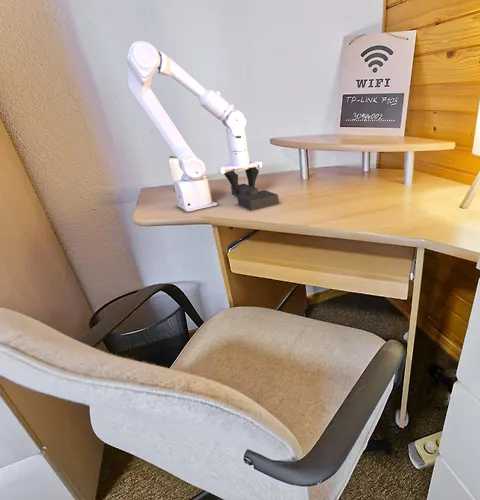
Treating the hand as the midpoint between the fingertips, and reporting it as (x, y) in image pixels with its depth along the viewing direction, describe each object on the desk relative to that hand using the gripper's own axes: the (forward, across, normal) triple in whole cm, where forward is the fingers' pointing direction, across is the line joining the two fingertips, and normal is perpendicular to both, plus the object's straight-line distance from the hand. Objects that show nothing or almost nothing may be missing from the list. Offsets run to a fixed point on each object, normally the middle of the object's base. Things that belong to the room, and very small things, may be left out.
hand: (244, 191), depth 107 cm
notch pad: (+2, 0, +9) cm, 9 cm away
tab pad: (+1, 0, +1) cm, 2 cm away
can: (+2, +10, -27) cm, 29 cm away
